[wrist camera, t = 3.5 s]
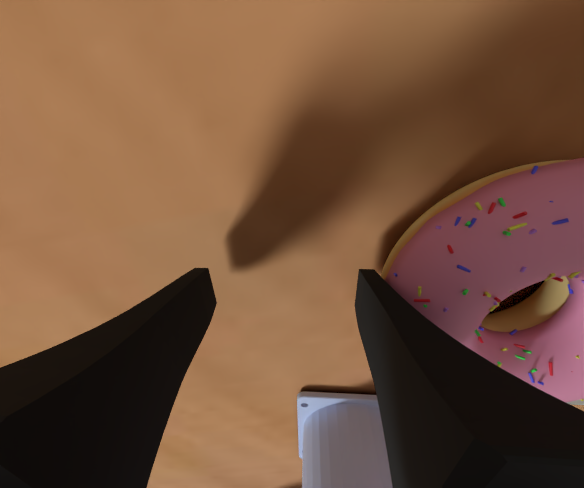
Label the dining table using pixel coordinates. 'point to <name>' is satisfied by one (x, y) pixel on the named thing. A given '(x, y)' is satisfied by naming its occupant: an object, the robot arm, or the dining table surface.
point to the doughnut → (505, 271)
